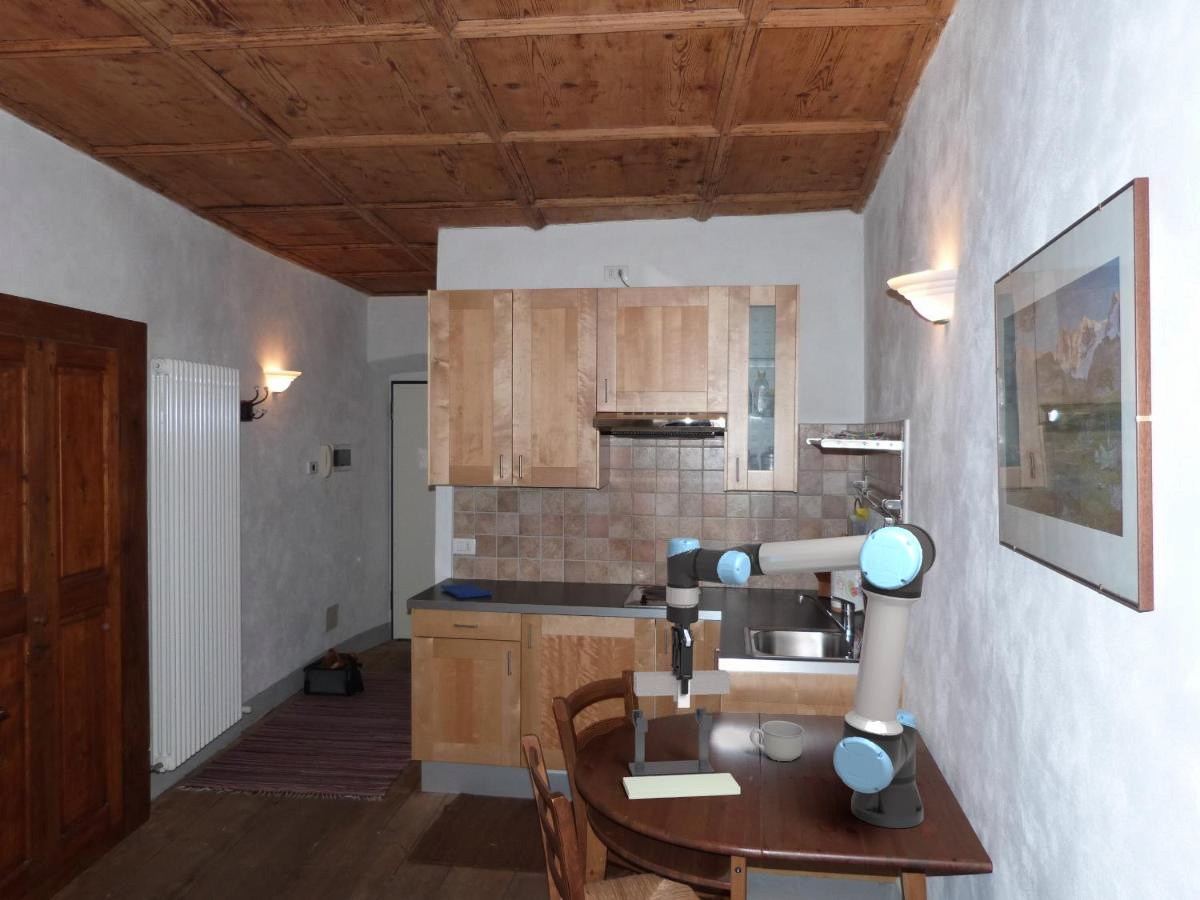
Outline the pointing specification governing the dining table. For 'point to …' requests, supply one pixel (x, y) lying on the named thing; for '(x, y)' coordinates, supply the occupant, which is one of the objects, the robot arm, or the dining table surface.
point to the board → (680, 785)
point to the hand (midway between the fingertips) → (681, 703)
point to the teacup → (780, 740)
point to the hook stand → (671, 767)
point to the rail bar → (669, 685)
